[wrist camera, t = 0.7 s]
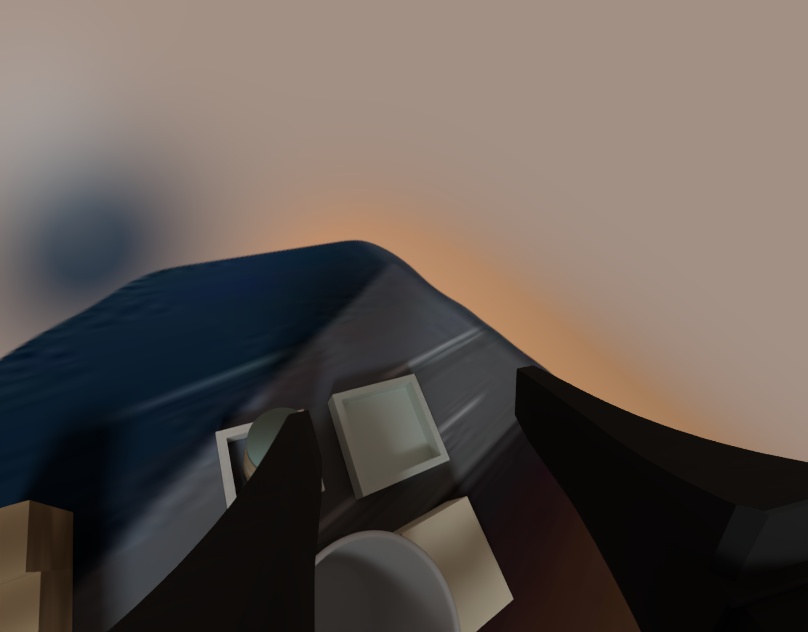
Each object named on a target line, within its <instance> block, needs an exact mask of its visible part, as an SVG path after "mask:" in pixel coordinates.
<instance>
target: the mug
mask: <svg viewBox="0 0 808 632" xmlns="http://www.w3.org/2000/svg"><path fill="white" fill-rule="evenodd" d="M315 632H461V629H460V623H459V618H458V613H457V609H456V605H455V602H454V599H453V596H452V593H451V591H450V589H449V586H448V584H447V582H446V580H445V578H444V576H443V574H442V573H441V571H440V569H439V568H438V566H437V565H436V564H435V562H434V561H433V560H432V559H431V557H430V556H429V555H428V554H427V553H426V552H425V551H424V550H423V549H422V548H421V547H419V546H418V545H417V544H415V543H414V542H412V541H411V540H409V539H407V538H406V537H403V536H401V535H399V534H396V533H393V532H390V531H384V530H360V531H355V532H350V533H347V534H343V535H340V536H338V537H336V538H333V539H331V540H329V541H327V542H325V543H323V544H321V545H319V546H318V547H317V549H316V561H315Z"/></svg>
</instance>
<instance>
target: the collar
mask: <svg viewBox="0 0 808 632" xmlns="http://www.w3.org/2000/svg"><path fill="white" fill-rule="evenodd" d="M297 411H299V412H302V411H304V409H301V410H297ZM252 424H253V422H252V423H248V424H244V425H241V426H237V427H233V428H229V429H226V430H222V431H218V432H215V433H216V440H217V447H218V453H219V459H220V466H221V472H222V478H223V485H224V491H225V497H226V504H227V509H228V507H229V506H230V505H231V504H232V502H233V501H234V500H235V498H236V492H235V486H234V480H233V474H232V469H231V463H230V457H229V451H228V445H227V443H229V442H233V441H236V440H240V439H243V438H247V435H248V432H249V429H250V427H251V425H252ZM323 491H325V488H324V484H323V480H322V492H323Z"/></svg>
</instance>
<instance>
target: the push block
mask: <svg viewBox="0 0 808 632" xmlns="http://www.w3.org/2000/svg"><path fill="white" fill-rule="evenodd" d="M393 533H396V534H399V535H401V536H403V537H406V538H407V539H409V540H411V541H412V542H414V543H415V544H417V545H418V546H419V547H421V548H422V549H423V550H424V551H425V552H426V553H427V554H428V555H429V556H430V557H431V559H432V560H433V561H434V562H435V564H436V565H437V566H438V568H439V569H440V571H441V573H442V574H443V576H444V578H445V580H446V582H447V584H448V586H449V589H450V591H451V593H452V596H453V599H454V602H455V605H456V609H457V613H458V618H459V623H460V629H461V632H476V631H477V630H478V629H479V628H481V627H482V626H483V625H484V624H485V623H486V622H488V621H489V620H490V619H491V618H492V617H493V616H494V615H496V614H497V613H498V612H499V611H500V610H501V609H503V608H504V607H505V606H506V605H507V604H508V603H510V602H511V601H512V600H513V597H512V595H511V593H510V590H509V588H508V586H507V584H506V582H505V579H504V577H503V575H502V573H501V571H500V568H499V566H498V564H497V562H496V560H495V557H494V555H493V553H492V551H491V549H490V546H489V544H488V542H487V540H486V537H485V535H484V533H483V531H482V529H481V526H480V524H479V522H478V520H477V518H476V515H475V513H474V511H473V509H472V507H471V504H470V502H469V500H468V498H467V496H466V497H462V498H458V499H455V500H451V501H447V502H445V503H443V504H441V505H440V506H438V507H436V508H434V509H433V510H431V511H429V512H427V513H426V514H424V515H422V516H420V517H419V518H417V519H415V520H413V521H411V522H410V523H408V524H406V525H404V526H403V527H401V528H399V529H397V530H396V531H394V532H393Z"/></svg>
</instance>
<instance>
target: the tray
mask: <svg viewBox="0 0 808 632" xmlns="http://www.w3.org/2000/svg"><path fill="white" fill-rule="evenodd" d="M327 403H328V407H329V410H330V414H331V417H332V420H333V424H334V427H335V430H336V434H337V437H338V440H339V444H340V447H341V451H342V454H343V457H344V461H345V464H346V467H347V471H348V474H349V478H350V481H351V484H352V488H353V491H354V494H355V498H356V500H358V499H360V498H362V497H365V496H367V495H369V494H372V493H374V492H376V491H379V490H381V489H383V488H386V487H388V486H390V485H393V484H395V483H397V482H400V481H402V480H404V479H407V478H409V477H411V476H414V475H416V474H418V473H421V472H423V471H425V470H428V469H430V468H432V467H435V466H437V465H439V464H442V463H444V462H446V461H448V460H450V459H449V456H448V454H447V452H446V449H445V447H444V444H443V442H442V439H441V437H440V435H439V432H438V430H437V427H436V425H435V423H434V420H433V418H432V415H431V413H430V411H429V408H428V406H427V403H426V401H425V398H424V396H423V394H422V391H421V389H420V386H419V384H418V382H417V379H416V377H415V374H411V375H407V376H404V377H400V378H396V379H392V380H388V381H384V382H380V383H376V384H372V385H368V386H364V387H360V388H356V389H352V390H348V391H345V392H341V393H337V394H333V395H332V396H331V398H330V399H329V401H328V402H327Z"/></svg>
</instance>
